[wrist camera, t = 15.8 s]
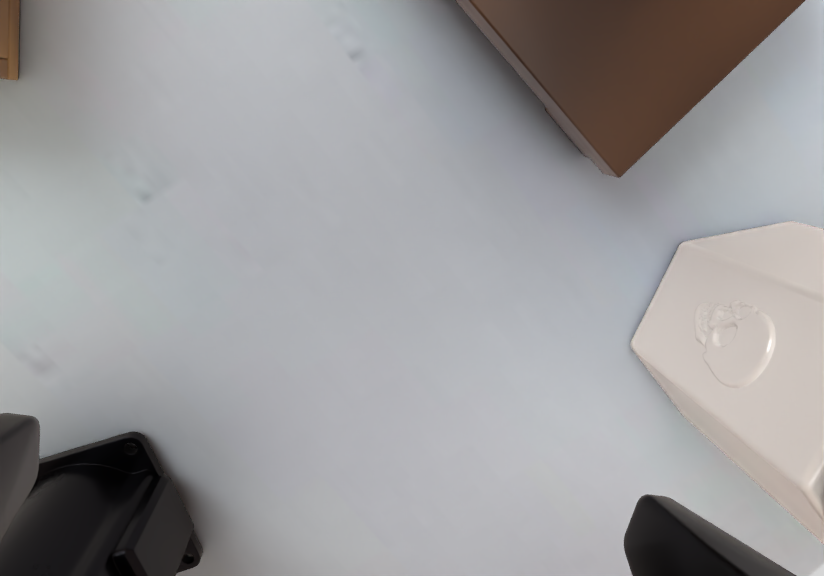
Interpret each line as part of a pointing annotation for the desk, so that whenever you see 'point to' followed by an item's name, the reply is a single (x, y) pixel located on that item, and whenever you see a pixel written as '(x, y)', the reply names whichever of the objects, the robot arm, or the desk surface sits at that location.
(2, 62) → the tray
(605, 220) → the desk surface
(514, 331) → the desk surface
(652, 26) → the wooden block
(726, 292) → the jar
